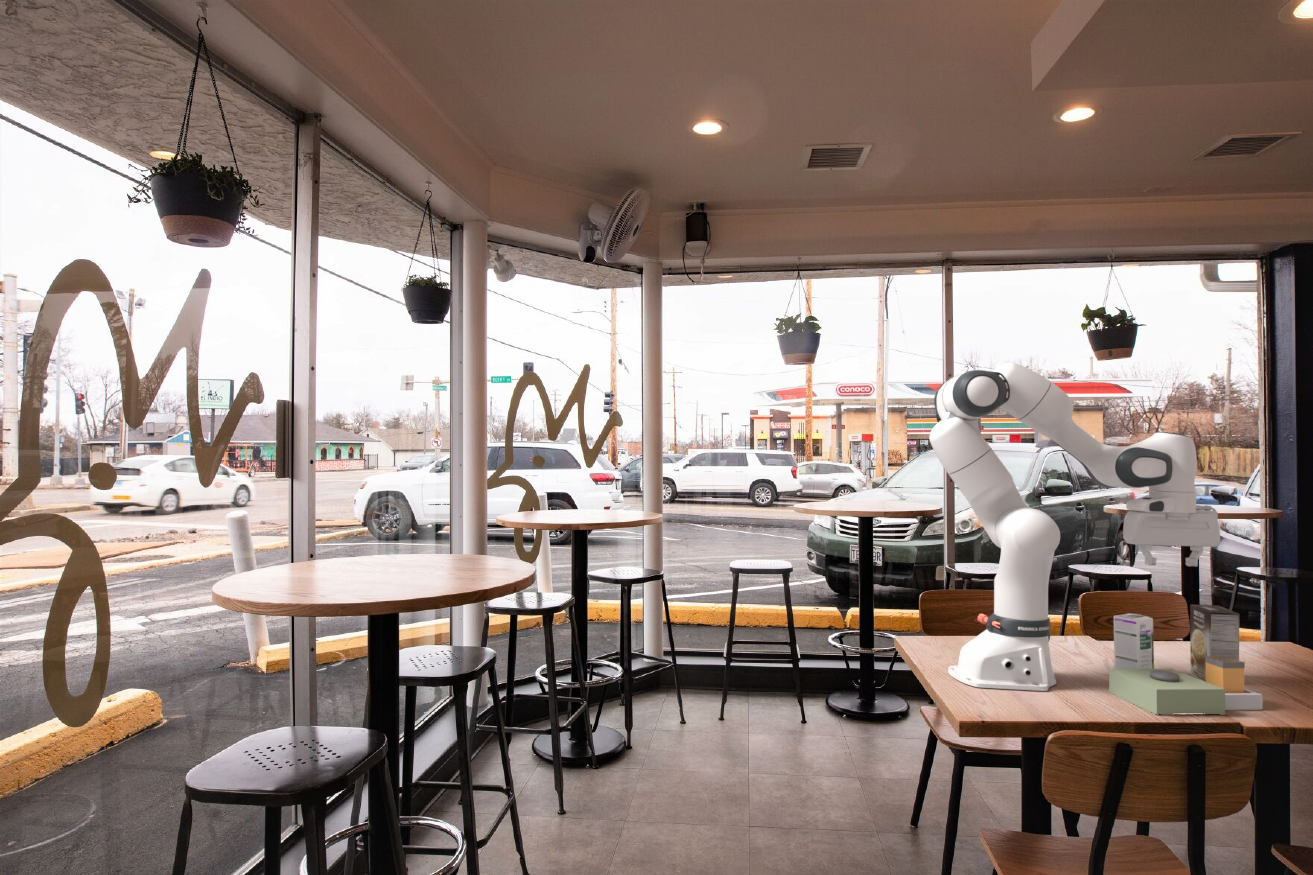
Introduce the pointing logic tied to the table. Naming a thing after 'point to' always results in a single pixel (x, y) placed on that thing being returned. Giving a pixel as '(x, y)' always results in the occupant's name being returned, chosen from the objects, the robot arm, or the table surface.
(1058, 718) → the table surface
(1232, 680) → the orange and grey block
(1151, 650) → the syrup box
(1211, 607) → the coffee box
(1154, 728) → the table surface
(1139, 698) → the knobbed slab with frame
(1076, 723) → the table surface
